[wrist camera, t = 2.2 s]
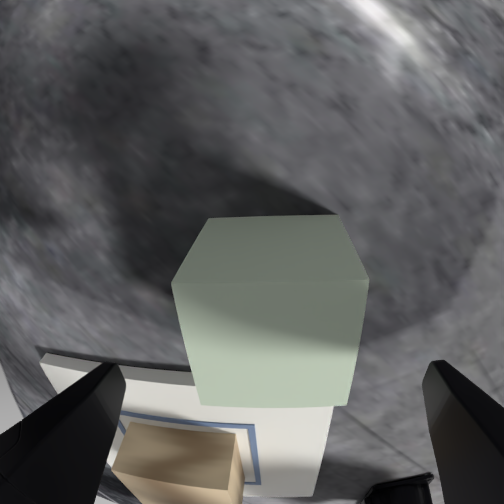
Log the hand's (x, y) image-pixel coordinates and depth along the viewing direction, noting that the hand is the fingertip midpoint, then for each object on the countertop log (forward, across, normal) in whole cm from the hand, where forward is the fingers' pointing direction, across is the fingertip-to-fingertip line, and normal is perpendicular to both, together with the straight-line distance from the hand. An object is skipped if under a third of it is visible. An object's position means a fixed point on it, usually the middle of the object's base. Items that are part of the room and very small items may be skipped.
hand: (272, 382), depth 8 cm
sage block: (+6, 0, 0) cm, 6 cm away
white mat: (+6, +6, +14) cm, 16 cm away
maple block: (+5, +6, +14) cm, 16 cm away
